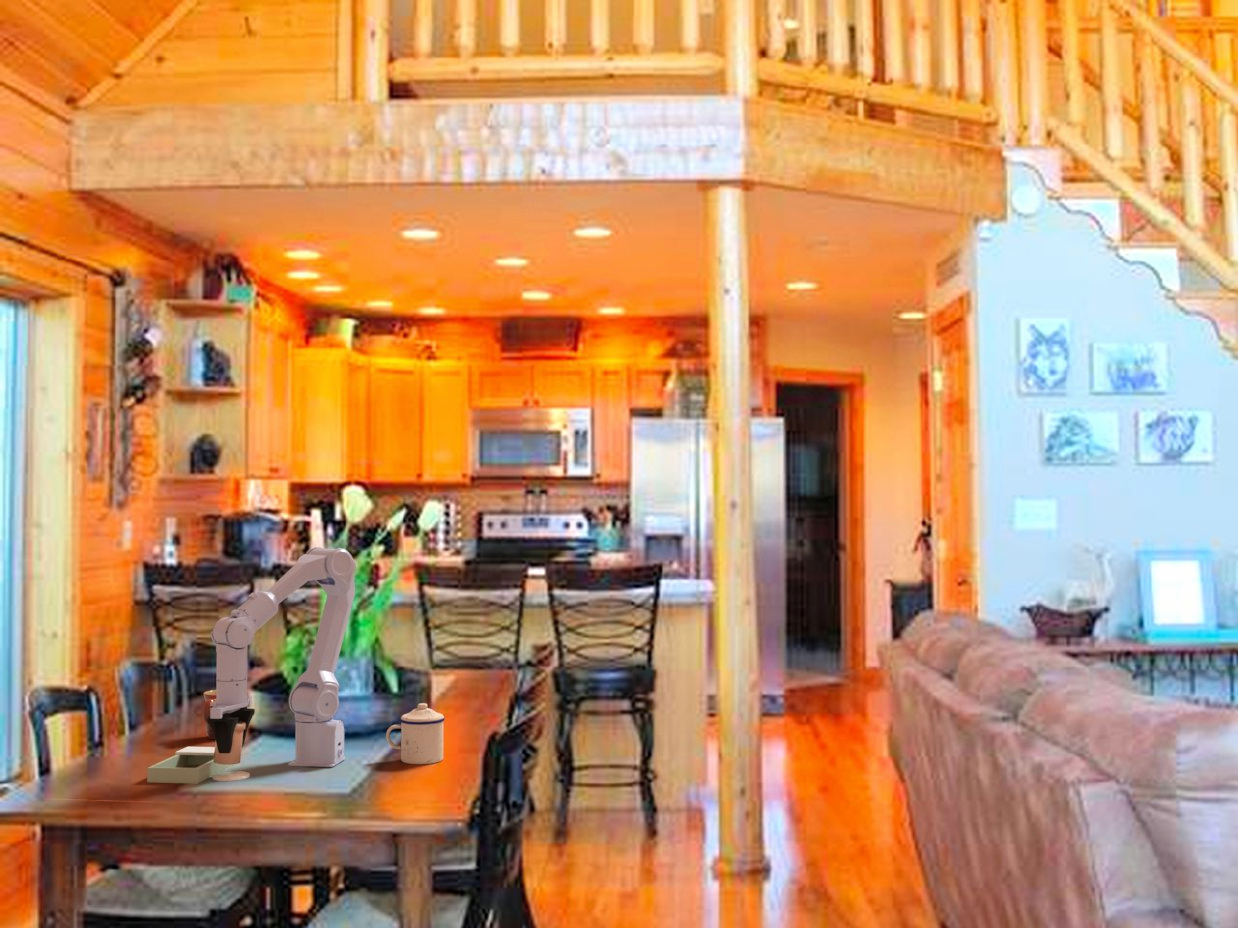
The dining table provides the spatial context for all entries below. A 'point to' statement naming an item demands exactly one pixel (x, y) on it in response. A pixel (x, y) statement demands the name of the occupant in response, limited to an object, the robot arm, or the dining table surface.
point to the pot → (235, 753)
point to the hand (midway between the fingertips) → (231, 749)
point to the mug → (209, 698)
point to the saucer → (230, 776)
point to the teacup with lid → (420, 736)
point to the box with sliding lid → (186, 766)
